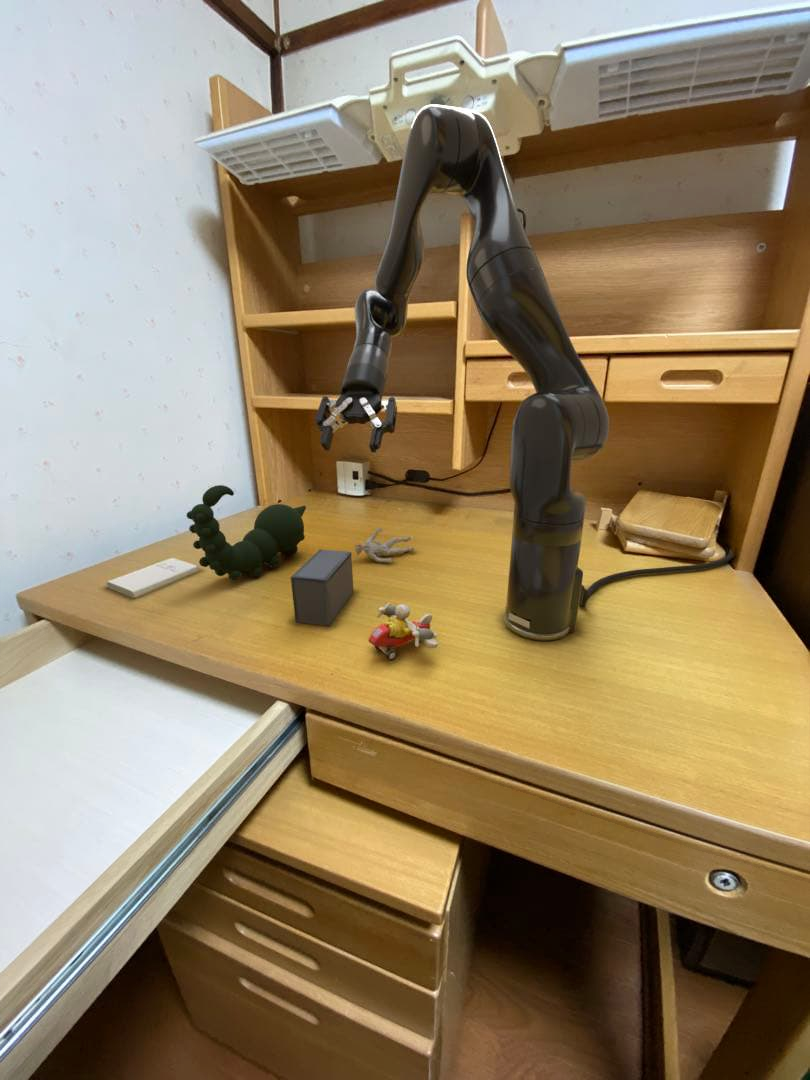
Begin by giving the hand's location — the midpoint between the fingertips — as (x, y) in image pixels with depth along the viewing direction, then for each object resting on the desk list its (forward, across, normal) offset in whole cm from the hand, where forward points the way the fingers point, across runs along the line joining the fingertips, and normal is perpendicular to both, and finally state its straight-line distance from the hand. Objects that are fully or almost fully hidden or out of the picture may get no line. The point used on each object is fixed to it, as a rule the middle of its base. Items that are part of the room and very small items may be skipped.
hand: (348, 448), depth 79 cm
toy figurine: (+18, -18, +15) cm, 29 cm away
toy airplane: (+32, +15, 0) cm, 36 cm away
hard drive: (+25, -35, +8) cm, 43 cm away
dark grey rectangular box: (+26, 0, +6) cm, 27 cm away
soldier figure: (+11, +4, +22) cm, 25 cm away
